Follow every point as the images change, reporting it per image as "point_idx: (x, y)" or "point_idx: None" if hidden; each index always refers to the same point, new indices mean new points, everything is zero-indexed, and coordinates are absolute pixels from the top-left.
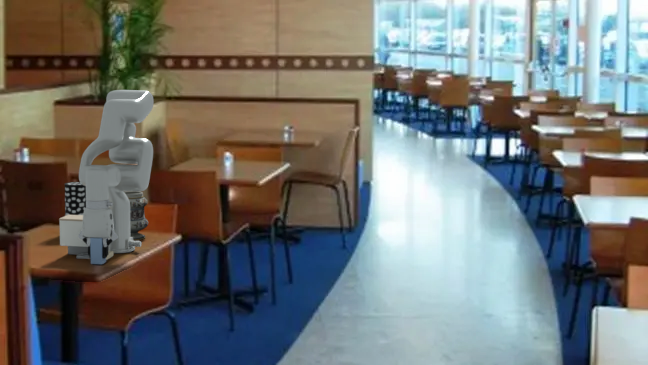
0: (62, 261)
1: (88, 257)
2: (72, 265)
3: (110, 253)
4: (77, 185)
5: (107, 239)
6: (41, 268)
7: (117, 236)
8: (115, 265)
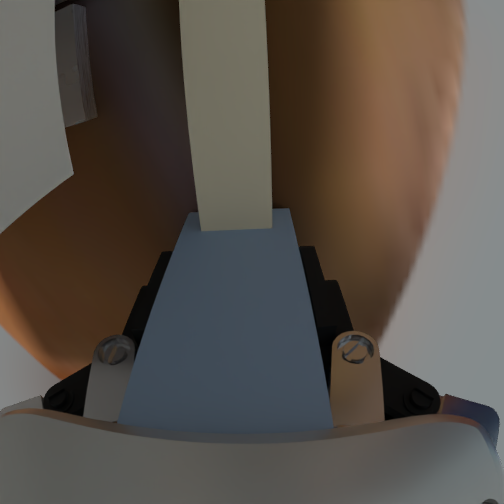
0: (12, 247)
1: (78, 122)
2: (114, 317)
3: (266, 35)
4: None
5: (365, 414)
6: (55, 366)
7: (494, 430)
8: (379, 267)
